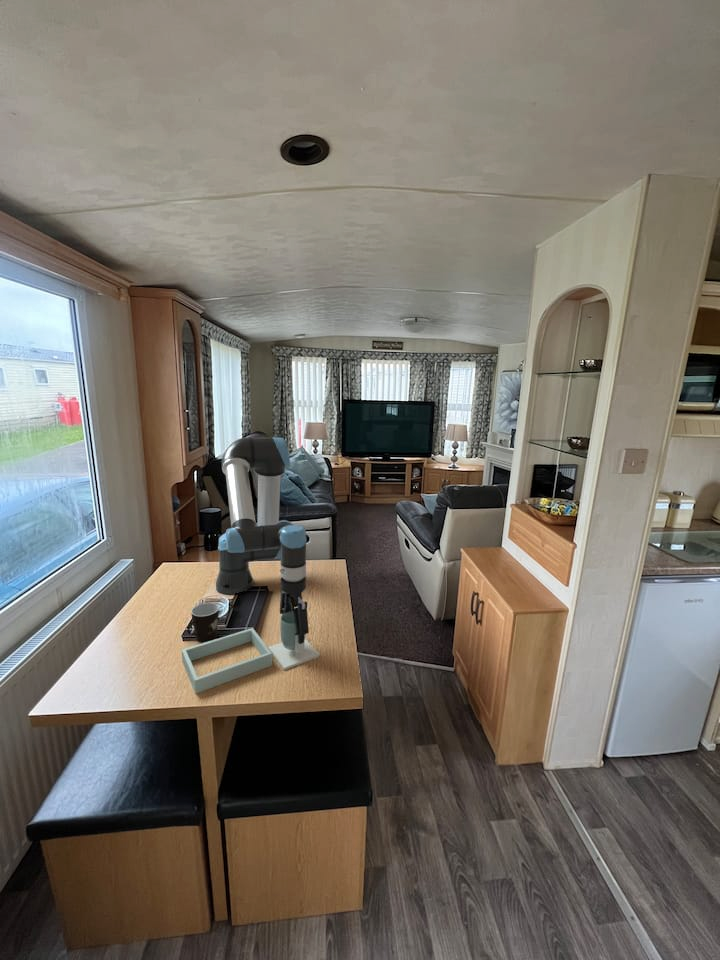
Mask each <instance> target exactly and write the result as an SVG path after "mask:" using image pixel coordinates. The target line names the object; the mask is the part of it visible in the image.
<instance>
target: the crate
mask: <svg viewBox="0 0 720 960" xmlns="http://www.w3.org/2000/svg"><path fill="white" fill-rule="evenodd" d="M247 643H252V644H253V646H254V647H255V649H256V650H257V651H258V653H259V654H260V655H257V656H255V657H252V658H249V659H246V660H243V661H240V662H238V663H237V662H236V663H234V664H231V665H229V666H226V667H223V668H220V669H217V670H214V671H211V672H209V673H206V674H203V675H201V676H198V675H197V672H196V671H195V670H196V669H195V668H194V666H193V663H192V661H194V660H197V659H198V660H199V659H201V658H204V657H207V656H210V655H214V654H216V653H219V652H222V651H225V650H229V649H232V648H235V647H238V646H241V645H244V644H247ZM268 647H269V646H267V645H266V643H265V642H264V640H263V639H262V638H261V637H260V635H259V634H258V632H256V630H255V629H254V627H251V628H248V629H244V630H241V631H238V632H235V633H231V634H229V635H226V636H222V637H219V638H215V639H214V640H212V641H208V642H201V643H199V644H196V645H193V646H189V647H186V648H183V649H181V658H182V659H181V661H182V664H183V666H184V670H185V671H186V673H187V676H188V678H189V679H188V680H189V681H190V684H191V686H192V689H193V691H194V694H195V695H196V694H198V693H202V692H204V691H206V690H210V689H212V688H215V687H218V686H220V685H223V684H226V683H228V682H231V681H233V680H236V679H239V678H242V677H245V676H247V675H251V674H252V673H253V674H254V673H255V672H258V671H260V670H263V669H265V668H269V667H271V666H273V655H272V653H271V651H270V650H269V649H268Z"/></svg>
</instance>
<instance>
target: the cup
mask: <svg viewBox="0 0 720 960" xmlns="http://www.w3.org/2000/svg"><path fill="white" fill-rule="evenodd" d="M279 623H280V624H279V625H280V629H279V630H280V640H281V642H282V644H283V646H284V647H285V648H286V649H288V650H295V633H296V632H297V631H296V625H295V619H294V614H293V611H289V612H286V613H284V614H283V615H282V614H281V616H280V621H279ZM306 635H307V634H305V635H304V641H305V639H306Z"/></svg>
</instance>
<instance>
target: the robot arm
mask: <svg viewBox="0 0 720 960" xmlns="http://www.w3.org/2000/svg"><path fill="white" fill-rule="evenodd" d="M290 464H291V461H290V452H289V447H288V443H287V441H286V439H285V438H283V437H277V436H275V437H274V436H272V437H271V436H270V437H269V436H268V437H264V436H263V437H240V438H238V439H236V440H234V441H233V442H231V444H230V445H229V446H228V447H227V448H226V449H225V451H224V453H223V455H222V458H221V470H222V473H223V474H224V475H225V480H226V490H227V497H228V508H229V518H230V526H231V527H230V528H227V529H225V530H226V531H225V533H223V534H222V535H221V536H219V538H218V546H217V549H218V563H219V565H218V566H219V570H218V571H219V572H218V574H217V578H216V580H215V590H216V591H217V592H218V593H220V594H224V595H236V594H235V593H236V592H243V591H245V590H247V589H249V588H251V587H252V588H253V587H254V577H253V576H252V572H251V570H250V566H249V565H250V564H249V563H251V562H261V561H268V560H271V561H272V560H276V559H280V569H279V573H280V600H279V614H280V615H281V616H282V615H283V614H284V613H286V612H289V611H293V614H294V619H295V625H296V631H297V632H296V633H295V652H296V653H298V652H301V651H304V635H305V634H306V635H307V634H309V631H310V630H309V619H308V618H309V617H308V602H307V601H303V592H304V590H306V587H307V577H306V575H307V540H308V538H307V533H306V530H307V529H305V528H304V527H303V526H302V525H299V524H294V523H292V522H290V521H289V520H286V519H282V520H280V501H281V497H280V496H281V495H280V494H281V477H282V476H283V475H284V474H285V469H288V468H289V467H290ZM250 469H253V473H255V474H256V475H257V522H256V516H255V508H254V505H253V496H252V490H251V484H250V478H249V471H250ZM252 588H251V589H252ZM243 593H244V592H243Z"/></svg>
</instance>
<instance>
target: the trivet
mask: <svg viewBox="0 0 720 960" xmlns="http://www.w3.org/2000/svg"><path fill="white" fill-rule="evenodd" d="M267 647H268V649H269V650H270V651H271V653H272V657H273V658H274V659H275V660H276V662H277V663H278V664H279V666H280V667H281V668H282V670H283V671H286V670H288V669H291V668H294V667H296V666H299V665H302V664H304V663H307V662H309V661H311V660H314V659H317V658H320V655H321V654H320V653H319V652H318V651H317V650H316V649H315V647H314V646H313V645H311V643H310V642H309V641H308V640H307V639H306V638H305V641H304V651H301V652H298V653H296V652H295V650H288V649H286V648H285V647H284V646H283V644H282V641H281V642H279V643H277V644H273V645H271V646H270V645H269V646H267Z"/></svg>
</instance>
